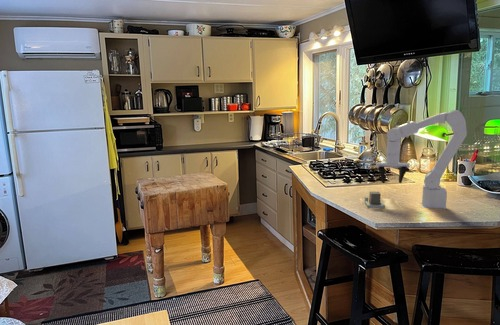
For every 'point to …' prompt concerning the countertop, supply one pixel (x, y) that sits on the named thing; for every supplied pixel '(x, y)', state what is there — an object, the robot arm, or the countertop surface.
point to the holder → (375, 205)
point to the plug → (374, 198)
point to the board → (389, 204)
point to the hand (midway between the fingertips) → (391, 182)
